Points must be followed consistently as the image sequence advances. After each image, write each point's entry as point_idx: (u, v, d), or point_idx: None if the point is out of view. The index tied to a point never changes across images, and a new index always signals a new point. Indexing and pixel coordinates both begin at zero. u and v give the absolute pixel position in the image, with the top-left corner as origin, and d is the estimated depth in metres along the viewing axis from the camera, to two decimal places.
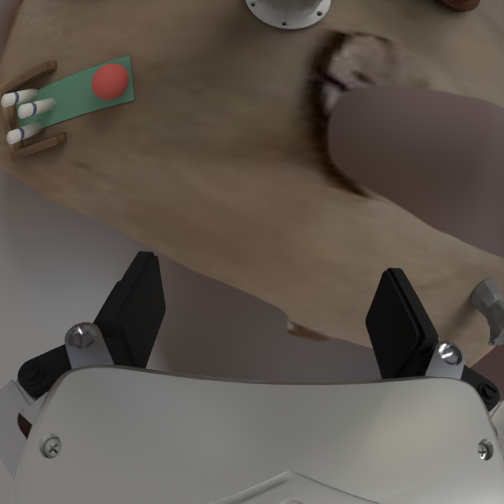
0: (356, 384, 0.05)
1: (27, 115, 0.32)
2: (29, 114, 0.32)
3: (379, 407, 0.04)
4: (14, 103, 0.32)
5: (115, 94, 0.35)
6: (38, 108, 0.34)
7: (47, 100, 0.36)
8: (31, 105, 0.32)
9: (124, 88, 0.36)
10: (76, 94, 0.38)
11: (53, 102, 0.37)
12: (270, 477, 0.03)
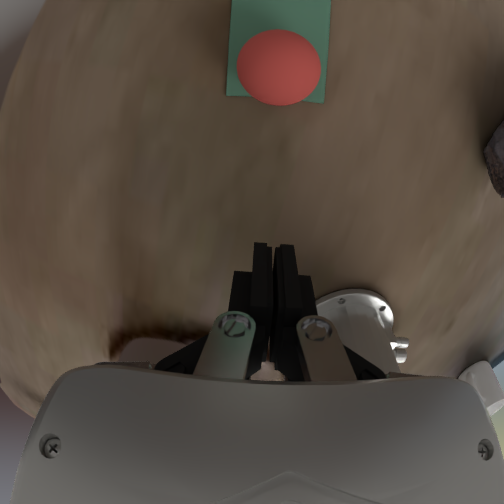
0: (356, 384, 0.05)
1: None
2: None
3: (379, 407, 0.04)
4: None
5: (242, 81, 0.18)
6: None
7: None
8: None
9: (252, 96, 0.19)
10: None
11: None
12: (270, 477, 0.03)
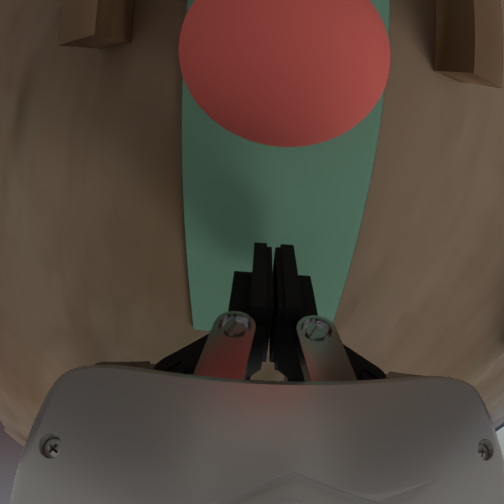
0: (356, 385, 0.05)
1: None
2: None
3: (379, 407, 0.04)
4: None
5: None
6: None
7: None
8: None
9: None
10: None
11: None
12: (270, 477, 0.03)
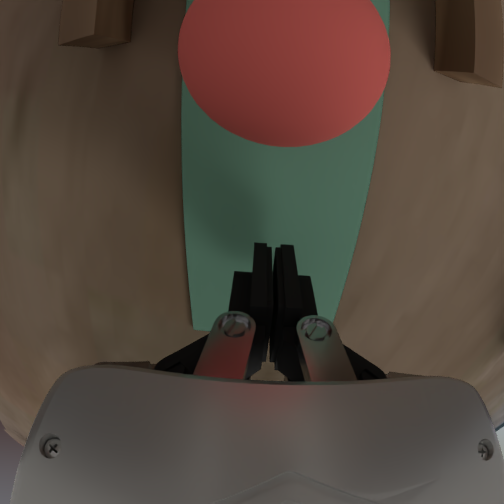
0: (356, 384, 0.05)
1: None
2: None
3: (379, 407, 0.04)
4: None
5: None
6: None
7: None
8: None
9: None
10: None
11: None
12: (270, 477, 0.03)
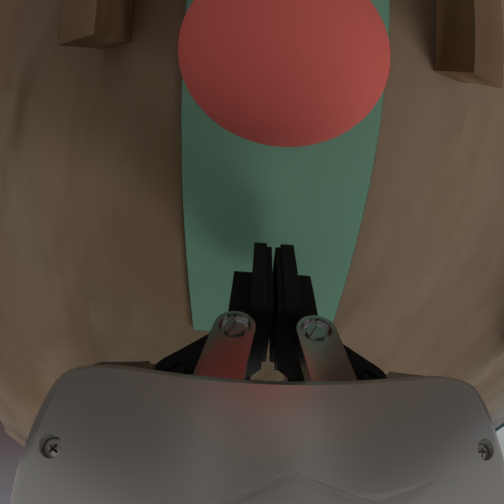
0: (356, 384, 0.05)
1: None
2: None
3: (379, 407, 0.04)
4: None
5: None
6: None
7: None
8: None
9: None
10: None
11: None
12: (270, 477, 0.03)
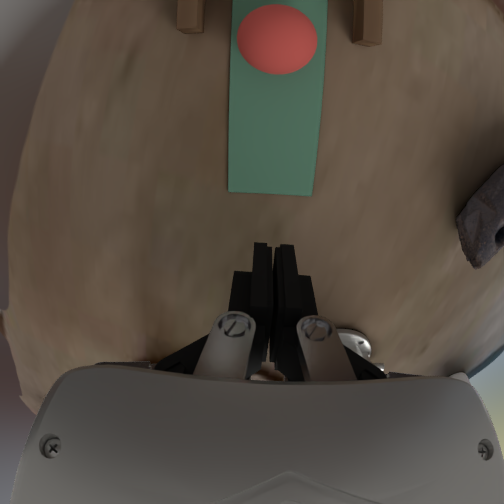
0: (356, 384, 0.05)
1: None
2: None
3: (379, 407, 0.04)
4: None
5: None
6: None
7: None
8: None
9: None
10: (277, 76, 0.22)
11: None
12: (270, 477, 0.03)
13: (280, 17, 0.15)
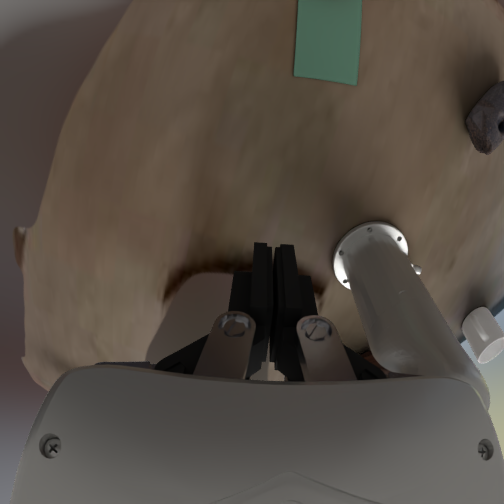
0: (356, 385, 0.05)
1: None
2: None
3: (379, 407, 0.04)
4: None
5: None
6: None
7: None
8: None
9: None
10: (331, 2, 0.25)
11: None
12: (270, 477, 0.03)
13: None
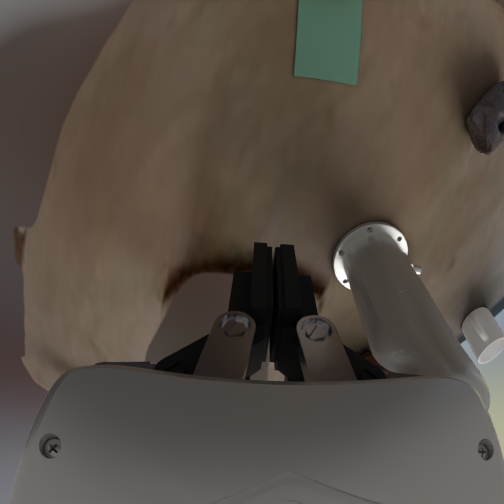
0: (356, 384, 0.05)
1: None
2: None
3: (379, 407, 0.04)
4: None
5: None
6: None
7: None
8: None
9: None
10: (331, 2, 0.25)
11: None
12: (270, 477, 0.03)
13: None
